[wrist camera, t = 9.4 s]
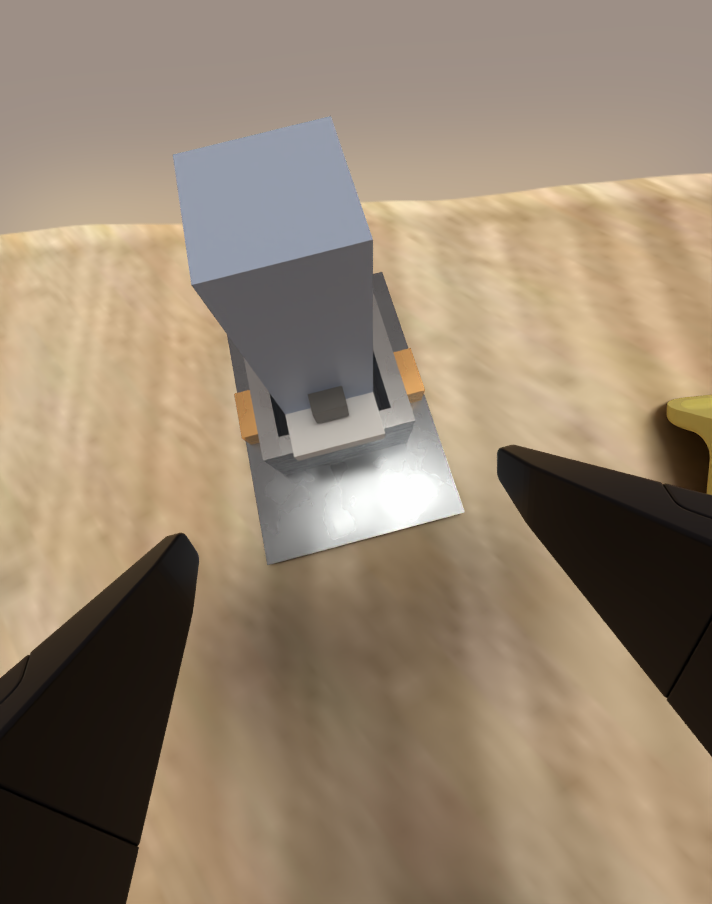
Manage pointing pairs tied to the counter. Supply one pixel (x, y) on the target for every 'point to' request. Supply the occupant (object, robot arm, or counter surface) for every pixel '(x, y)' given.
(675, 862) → the counter surface
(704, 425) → the plastic component
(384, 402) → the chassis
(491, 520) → the counter surface
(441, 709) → the counter surface
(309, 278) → the grey tall block
